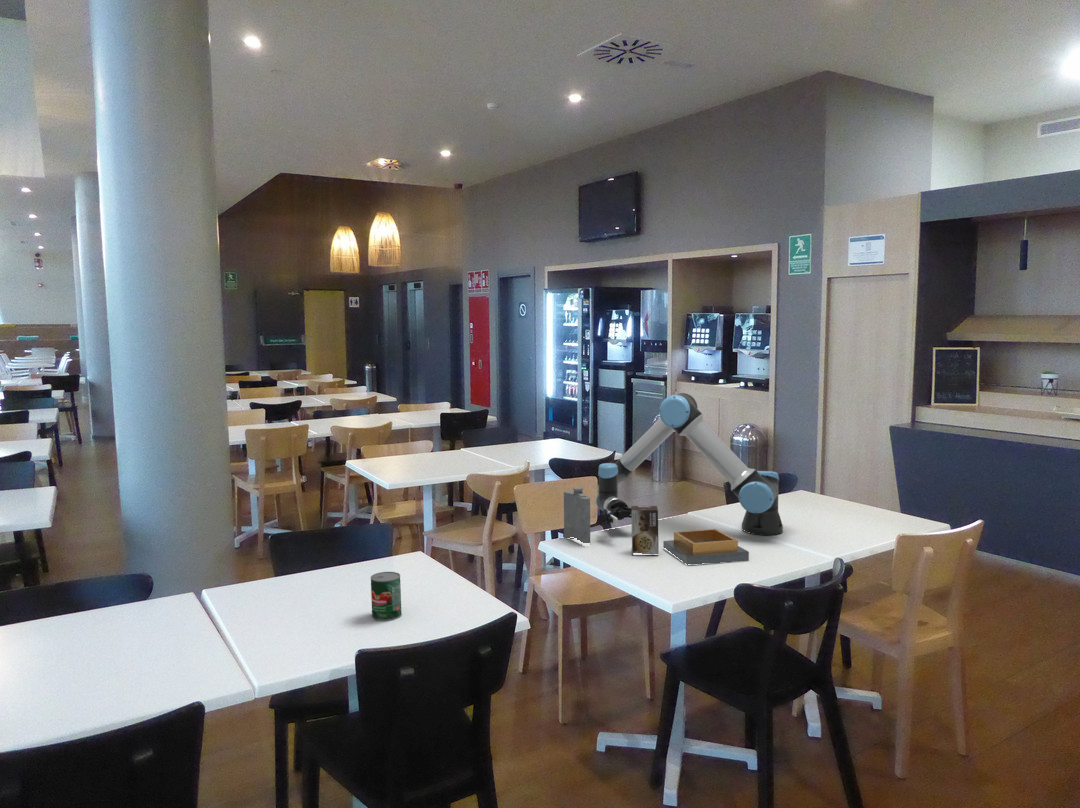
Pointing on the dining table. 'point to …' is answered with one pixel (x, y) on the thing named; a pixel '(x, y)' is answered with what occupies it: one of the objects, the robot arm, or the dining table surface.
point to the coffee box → (645, 529)
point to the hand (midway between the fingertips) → (635, 521)
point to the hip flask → (577, 515)
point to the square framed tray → (705, 547)
